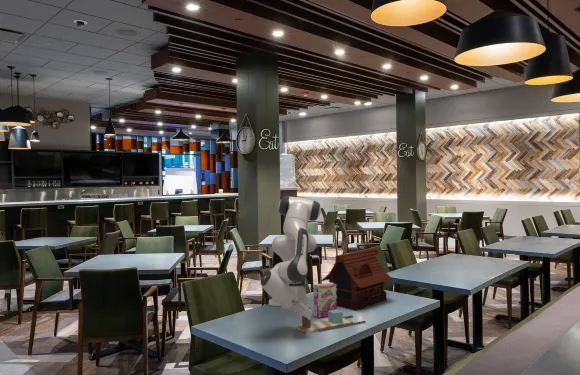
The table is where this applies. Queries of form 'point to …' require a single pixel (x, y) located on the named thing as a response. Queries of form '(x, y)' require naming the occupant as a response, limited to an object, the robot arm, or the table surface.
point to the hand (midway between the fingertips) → (307, 316)
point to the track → (342, 325)
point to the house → (358, 279)
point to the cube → (335, 316)
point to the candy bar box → (324, 299)
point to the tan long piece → (318, 325)
